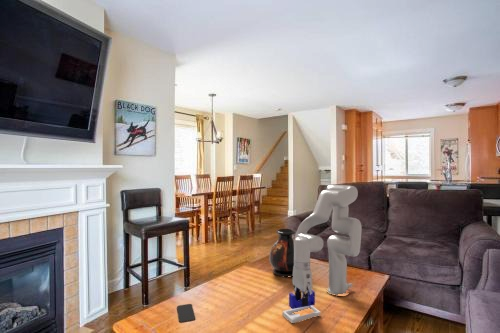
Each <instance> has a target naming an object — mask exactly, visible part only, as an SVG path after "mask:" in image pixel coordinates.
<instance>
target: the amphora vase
mask: <svg viewBox="0 0 500 333" xmlns="http://www.w3.org/2000/svg"><path fill="white" fill-rule="evenodd" d="M296 232H297V230H294V229H292V228H279V229H276V230H275V233H276V234H278V239H277V240H276V241H275V242H274V243H273V245H272V246H271V248H270V251H269V254H268V255H269V256H268V257H269V258H268V259H269V263H270V265H271V267H272V268H273V270H272V272H273V273H274V275H275V274H276V275H275V276H277V275H279V276H278V277H280V276H284V277H283V278H287V277H288V276H293V267H294V240H295V239H294V238H293V236H295V235H296ZM288 278H289V277H288Z"/></svg>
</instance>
